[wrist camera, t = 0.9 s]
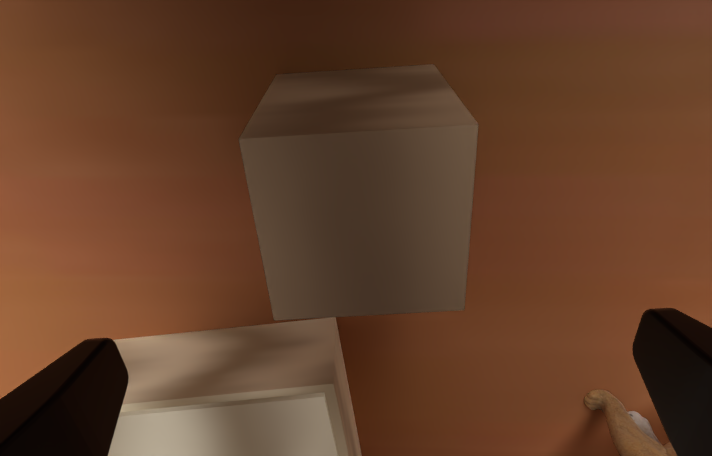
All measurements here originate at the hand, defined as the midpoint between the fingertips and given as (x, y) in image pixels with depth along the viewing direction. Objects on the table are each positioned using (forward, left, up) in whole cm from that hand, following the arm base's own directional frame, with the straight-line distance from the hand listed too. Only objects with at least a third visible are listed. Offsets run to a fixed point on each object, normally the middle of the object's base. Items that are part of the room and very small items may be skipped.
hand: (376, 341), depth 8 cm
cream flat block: (+6, +15, -10) cm, 19 cm away
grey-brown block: (0, 0, -10) cm, 10 cm away
